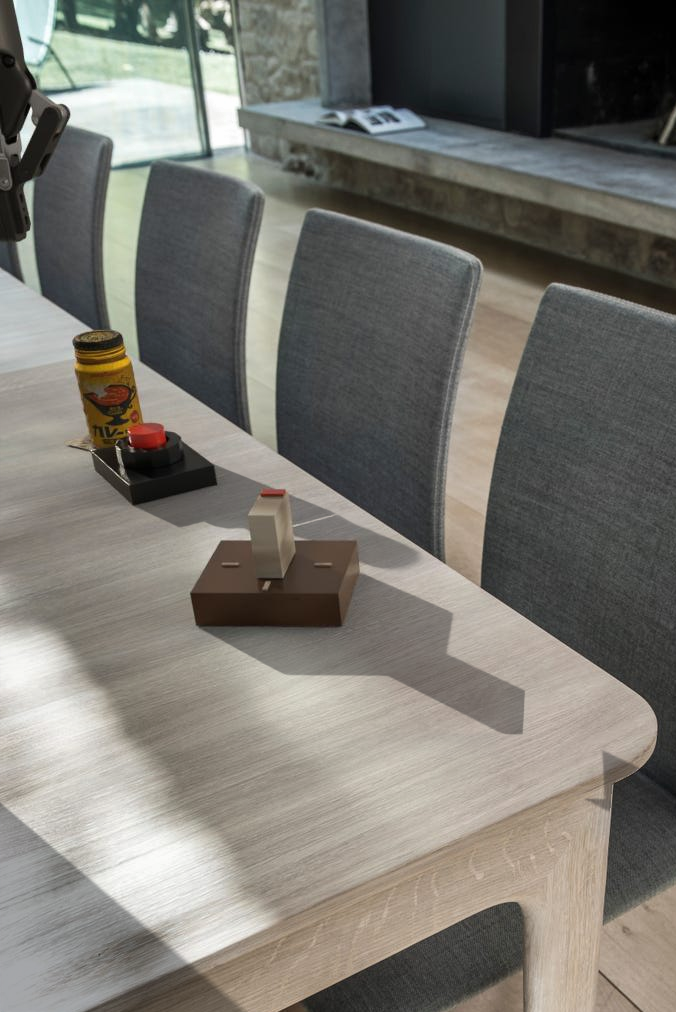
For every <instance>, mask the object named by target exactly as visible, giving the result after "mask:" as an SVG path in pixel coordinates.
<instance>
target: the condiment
mask: <svg viewBox="0 0 676 1012" xmlns="http://www.w3.org/2000/svg"><path fill="white" fill-rule="evenodd" d="M71 342H72V346H73V349H74V358H75V359H76V361H75V363H74V374H75V378H76V381H77V387H78V391H79V395H80V396H79V397H80V401H81V403H82V410H83V413H84V417H85V422H86V424H85V425H86V426H87V429H88V434H85V435H83V436H80V437H77V438H76V439H73V440H70V441H67V442H65V443H64V445H68V446H71V447H76V448H79V449H84V450H87V451H90V452H91V451H93V450H97V449H102V448H107V447H111V446H115V445H116V443H117V441H118V440H119V439H121V438H123V437H125V436H127V435H129V434H128V429H129V428H130V427H132V426H135V425H138V424H142V423H144V419H143V413H142V409H141V404H140V398H139V393H138V387H137V383H136V378H135V372H134V368H133V364H132V360H131V359H130V357H129V356H128V355H127V354H126V351H127V350H126V346H125V341H124V337H123V334H121V332H119V331H117V330H113V329H96V330H95V329H94V330H89V331H85V332H82V333H79V334H77V335H75V336H74V337H73V339H72V340H71Z"/></svg>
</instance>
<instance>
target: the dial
mask: <svg viewBox="0 0 676 1012" xmlns="http://www.w3.org/2000/svg"><path fill="white" fill-rule="evenodd" d="M291 511H292V510H291V503H290V495H289V491H288V490H286V488H281V489H280V488H262V490H261V492H260V493H259V495H258V497H257V499H256V500H255V502H254V504H253V505H252V507H251V509H250V510H249V512H248V514H247V522H248V523H247V524H248V529H249V535H250V540H251V543H252V550H253V556H254V563H255V570H256V577H257V578H283V577H284V575H285V573H286V571H287V569H288V567H289V565H290V563H291V560H292V558H293V556H294V554H295V552H296V550H295V542H294V540H295V535H294V528H293V527H294V526H293V519H292V518H293V517H292V512H291Z"/></svg>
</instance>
